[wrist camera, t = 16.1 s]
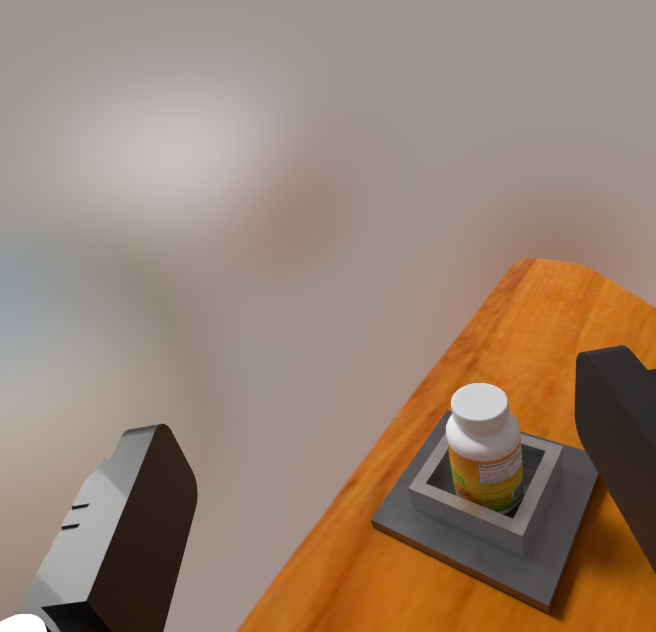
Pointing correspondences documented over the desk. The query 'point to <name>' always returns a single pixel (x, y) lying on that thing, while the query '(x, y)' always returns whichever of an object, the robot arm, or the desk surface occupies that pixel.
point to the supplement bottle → (485, 448)
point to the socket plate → (495, 517)
